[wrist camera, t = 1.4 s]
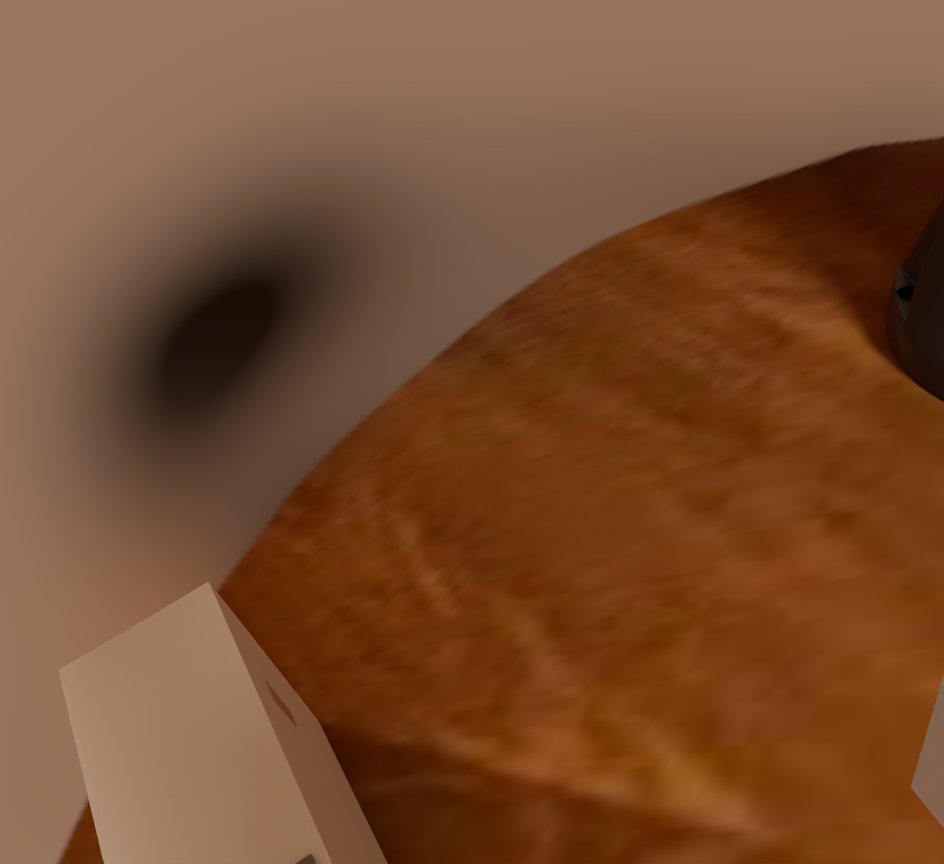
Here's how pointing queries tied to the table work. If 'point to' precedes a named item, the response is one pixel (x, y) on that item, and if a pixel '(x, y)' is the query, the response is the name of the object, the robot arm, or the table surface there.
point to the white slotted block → (206, 749)
